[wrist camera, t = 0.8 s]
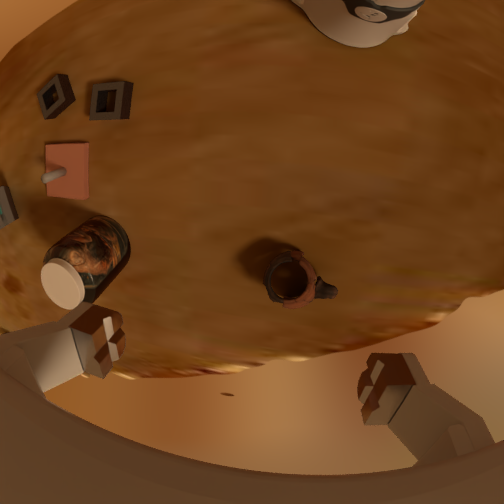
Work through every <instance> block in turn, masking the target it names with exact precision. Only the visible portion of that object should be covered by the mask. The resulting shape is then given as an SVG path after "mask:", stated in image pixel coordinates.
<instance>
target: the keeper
mask: <svg viewBox="0 0 504 504" xmlns="http://www.w3.org/2000/svg"><path fill="white" fill-rule="evenodd" d="M88 160H89V143H57V144H48V145H46V173H45V174H43V175H42V176H41V180H42V182H43V183H47V196H52V197H62V198H71V199H80V200H85V199H87V198H89V179H88Z"/></svg>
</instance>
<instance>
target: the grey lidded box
mask: <svg viewBox="0 0 504 504" xmlns="http://www.w3.org/2000/svg"><path fill="white" fill-rule="evenodd" d="M18 218H19V217H18V215H17V212H16V209H15V206H14V203H13V200H12V196H11V193H10V190H9V187H7V186H1V187H0V229H1V228H3V227H4V226H6V225H8V224H9V223H11V222H13V221H15V220H16V219H18Z"/></svg>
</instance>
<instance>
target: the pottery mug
mask: <svg viewBox="0 0 504 504" xmlns="http://www.w3.org/2000/svg"><path fill="white" fill-rule="evenodd" d="M302 255H304V252H302V251H298V250H292V251H287V252H285V253H282V254H280V255H279V256H277V257H276V258H274V259H273V260H272V261H271V262H270V266H268V267H267V269H266V272H265V276H264V280H263V284H264V285H265V286H266V289H267V291H268V295H269V298H270V299H271V300H272V301H273V302H279V303H283V307H285V308H289V309H295V308H300V307H303V306H305V305H307V304H309V303H310V302H311V301H312V300H313V299H316V298H321V299H326V298H329V299H333V298H335V297H336V295H337V293H338V290H337V288H336V287H335V286H333V285H330V284H327V283H325V282H324V281H323V280H322V279H321V277H320V276H318V277H316V274H315V272H314V269H313V268H312V266H311V265H310V263H309V262H308V261H307V260H306V259H305V258H304V257H302ZM292 260H295V261H298V262H299V265H300V266H301V267H302V268H303V269H304V270H305V272H306V274H307V279H308V280H307V282H308V283H307V287H306V289H305V291H304V292H303V293H302V294H301V295H300V296H298V297H296V298H291V297H287V296H284V298H281V297H279V296H278V295H277V294H276V293H275V292H274V291H273V289H272V287H271V281H270V280H271V275H272V272H273V271H274V269H275V268H276V267H277V266H279V265H280V264H282V263H285V262H292ZM316 279H317V282H316V284H314V281H315V280H316Z"/></svg>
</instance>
